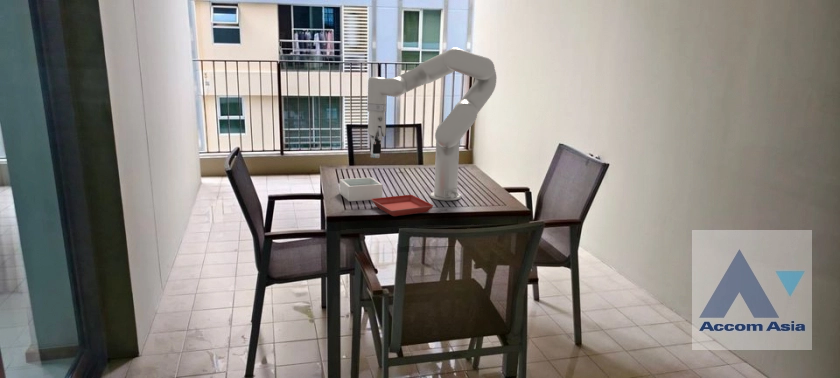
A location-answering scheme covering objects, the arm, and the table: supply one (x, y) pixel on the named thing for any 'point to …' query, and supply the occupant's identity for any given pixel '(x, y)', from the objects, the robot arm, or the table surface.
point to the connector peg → (372, 149)
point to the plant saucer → (402, 205)
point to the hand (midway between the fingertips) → (375, 152)
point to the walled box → (360, 189)
